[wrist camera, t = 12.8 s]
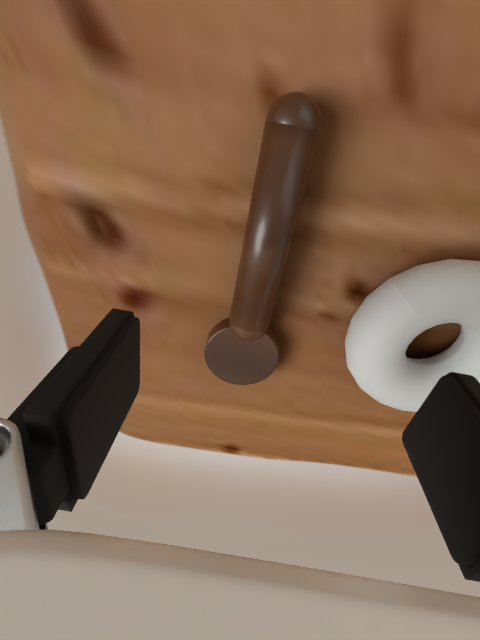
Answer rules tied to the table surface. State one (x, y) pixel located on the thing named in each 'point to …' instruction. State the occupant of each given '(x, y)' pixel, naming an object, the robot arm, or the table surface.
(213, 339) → the spoon
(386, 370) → the donut
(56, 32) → the table surface
